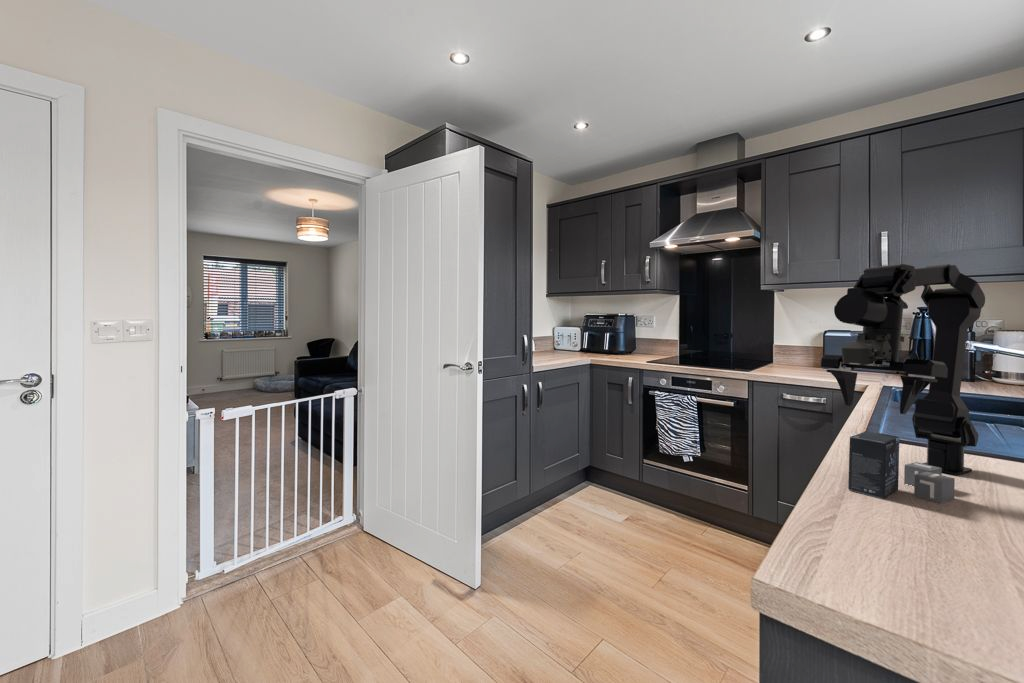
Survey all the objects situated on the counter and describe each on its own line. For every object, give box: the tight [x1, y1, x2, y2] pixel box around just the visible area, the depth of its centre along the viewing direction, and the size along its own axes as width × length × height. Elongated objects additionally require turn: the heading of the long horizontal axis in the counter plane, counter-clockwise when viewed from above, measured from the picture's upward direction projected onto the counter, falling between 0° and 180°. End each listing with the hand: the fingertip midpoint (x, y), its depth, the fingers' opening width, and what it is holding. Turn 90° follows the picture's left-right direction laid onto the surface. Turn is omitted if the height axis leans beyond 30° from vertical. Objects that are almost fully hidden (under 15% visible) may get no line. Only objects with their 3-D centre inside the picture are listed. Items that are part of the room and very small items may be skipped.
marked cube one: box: [903, 461, 943, 487], centre depth 86 cm, size 4×4×4 cm
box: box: [847, 430, 901, 500], centre depth 84 cm, size 8×6×11 cm
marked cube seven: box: [913, 472, 956, 504], centre depth 80 cm, size 4×4×4 cm
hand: (874, 409), depth 85 cm, fingers open, 9 cm apart
